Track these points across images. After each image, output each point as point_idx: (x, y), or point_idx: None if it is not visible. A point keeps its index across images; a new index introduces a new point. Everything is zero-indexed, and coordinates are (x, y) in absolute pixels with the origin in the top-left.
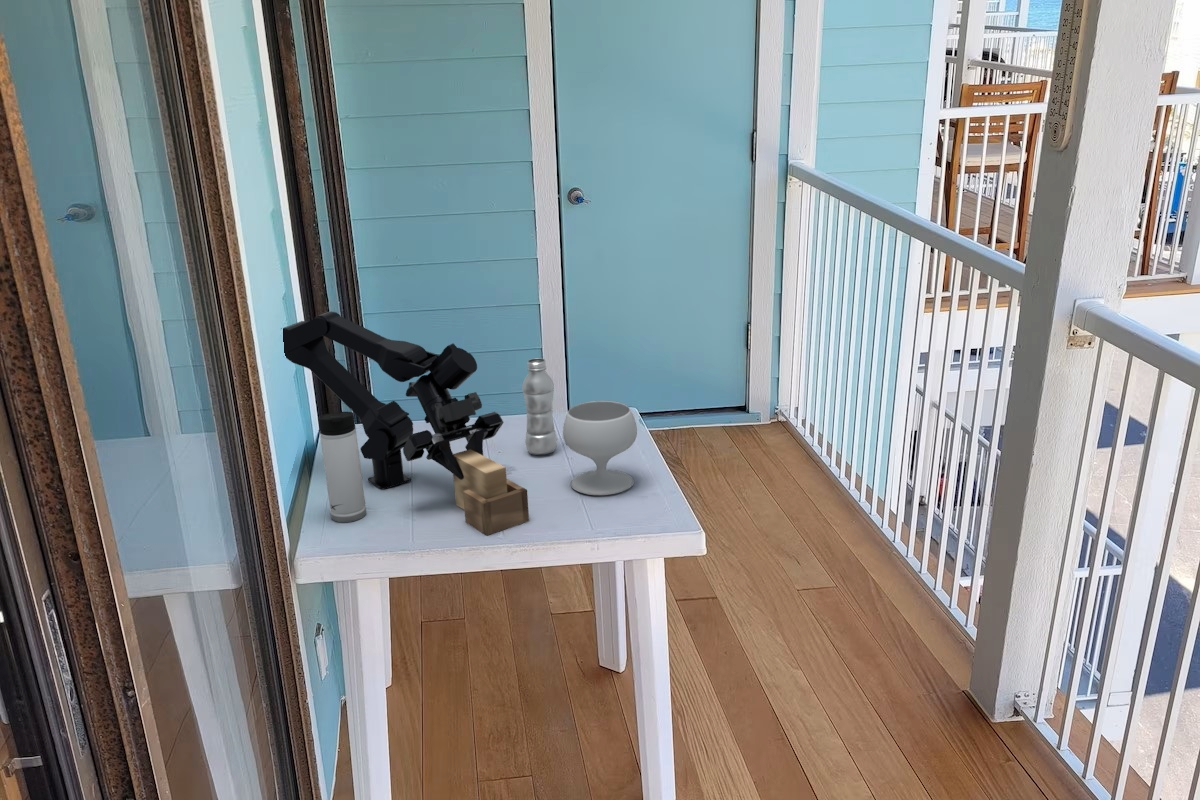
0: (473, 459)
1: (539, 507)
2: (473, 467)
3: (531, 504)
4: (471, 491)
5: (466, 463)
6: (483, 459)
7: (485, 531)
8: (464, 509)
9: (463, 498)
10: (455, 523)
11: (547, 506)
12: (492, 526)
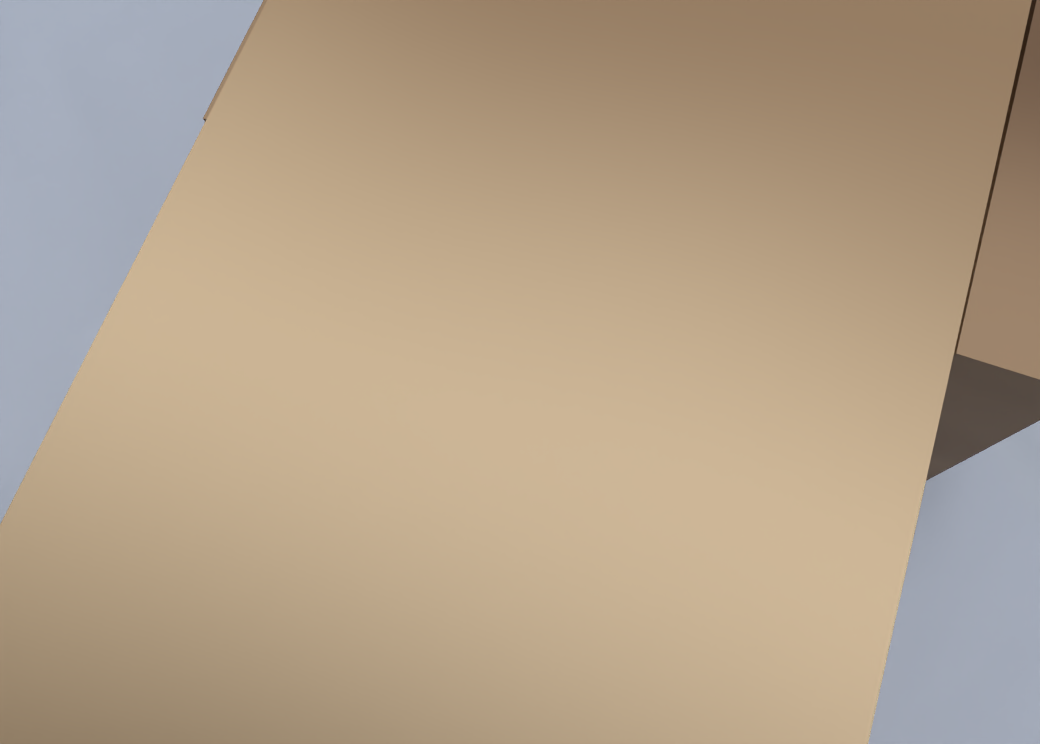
0: (562, 404)
1: (157, 63)
2: (1012, 47)
3: (120, 172)
4: (991, 249)
5: (929, 436)
6: (399, 110)
7: None
8: (937, 472)
9: (1013, 433)
10: (959, 604)
11: (104, 14)
12: None
